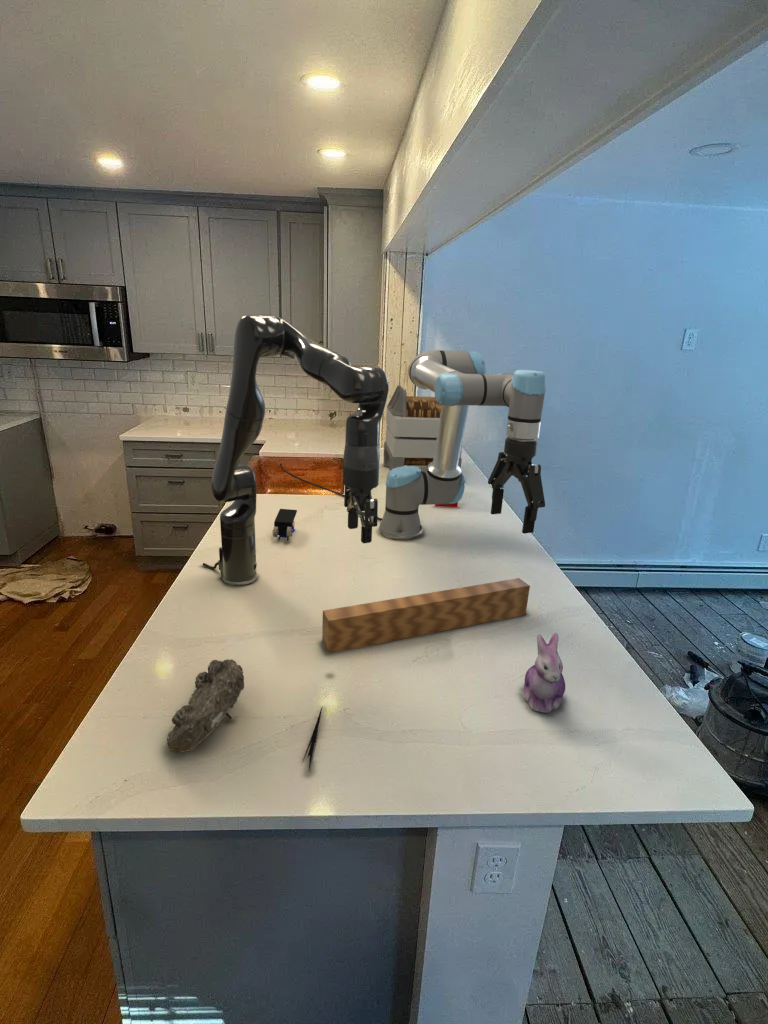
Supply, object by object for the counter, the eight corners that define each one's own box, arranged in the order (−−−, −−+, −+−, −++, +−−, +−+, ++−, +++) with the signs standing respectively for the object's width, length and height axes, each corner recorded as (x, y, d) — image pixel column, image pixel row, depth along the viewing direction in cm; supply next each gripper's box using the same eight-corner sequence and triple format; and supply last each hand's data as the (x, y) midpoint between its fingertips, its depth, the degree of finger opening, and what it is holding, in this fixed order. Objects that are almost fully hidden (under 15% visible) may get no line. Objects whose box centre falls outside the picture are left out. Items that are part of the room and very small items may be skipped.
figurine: (543, 721, 111) (554, 655, 106) (509, 690, 119) (518, 628, 114) (578, 708, 115) (591, 644, 110) (543, 679, 123) (553, 619, 118)
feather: (331, 679, 122) (336, 673, 122) (307, 777, 96) (313, 769, 95) (324, 675, 122) (329, 669, 121) (298, 772, 95) (304, 764, 95)
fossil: (192, 660, 117) (244, 628, 112) (224, 691, 120) (276, 661, 115) (142, 746, 98) (202, 712, 93) (182, 779, 101) (242, 748, 96)
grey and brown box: (382, 463, 289) (386, 382, 275) (445, 464, 293) (451, 384, 279) (390, 482, 257) (394, 392, 243) (460, 483, 261) (468, 394, 247)
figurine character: (292, 547, 188) (298, 526, 201) (292, 527, 184) (297, 507, 198) (272, 547, 187) (279, 526, 201) (271, 526, 184) (278, 506, 197)
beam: (515, 606, 154) (519, 577, 151) (525, 614, 150) (530, 585, 147) (322, 642, 134) (322, 610, 131) (328, 653, 129) (328, 620, 127)
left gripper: (334, 456, 124) (333, 525, 130) (356, 474, 112) (354, 549, 117) (366, 454, 127) (363, 522, 132) (391, 471, 115) (387, 545, 120)
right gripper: (479, 428, 142) (471, 507, 150) (541, 451, 121) (529, 543, 128) (505, 427, 145) (495, 505, 152) (570, 449, 124) (555, 539, 131)
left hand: (359, 535), depth 125 cm, fingers open, 8 cm apart
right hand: (511, 522), depth 140 cm, fingers open, 13 cm apart
